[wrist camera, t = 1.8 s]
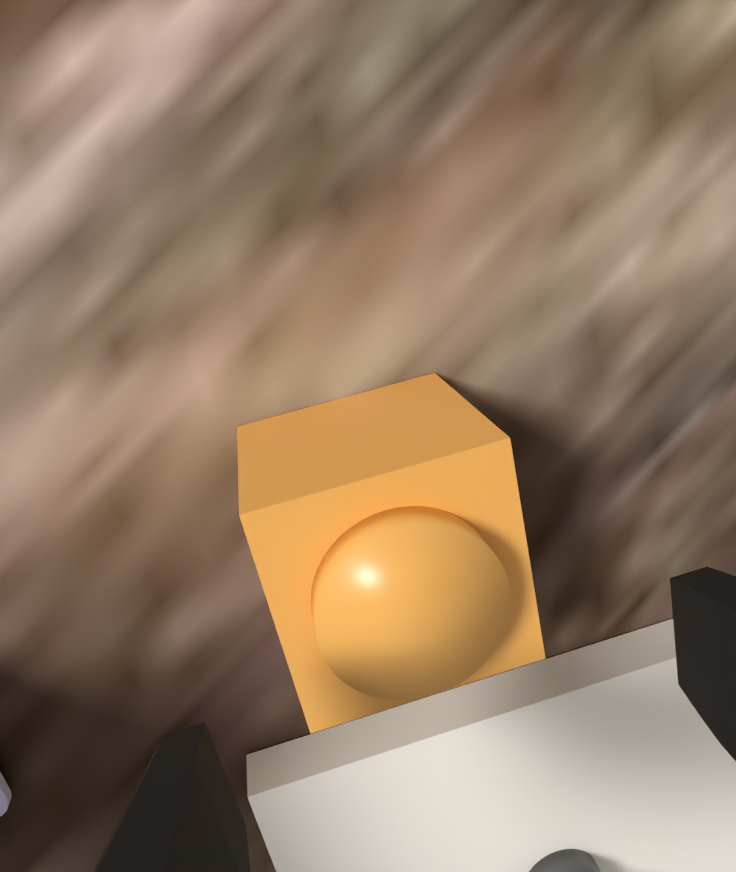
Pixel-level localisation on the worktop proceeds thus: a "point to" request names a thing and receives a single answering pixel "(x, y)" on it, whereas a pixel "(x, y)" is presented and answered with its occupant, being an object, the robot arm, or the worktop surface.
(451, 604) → the orange cube with dome
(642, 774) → the plate
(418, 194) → the worktop surface
